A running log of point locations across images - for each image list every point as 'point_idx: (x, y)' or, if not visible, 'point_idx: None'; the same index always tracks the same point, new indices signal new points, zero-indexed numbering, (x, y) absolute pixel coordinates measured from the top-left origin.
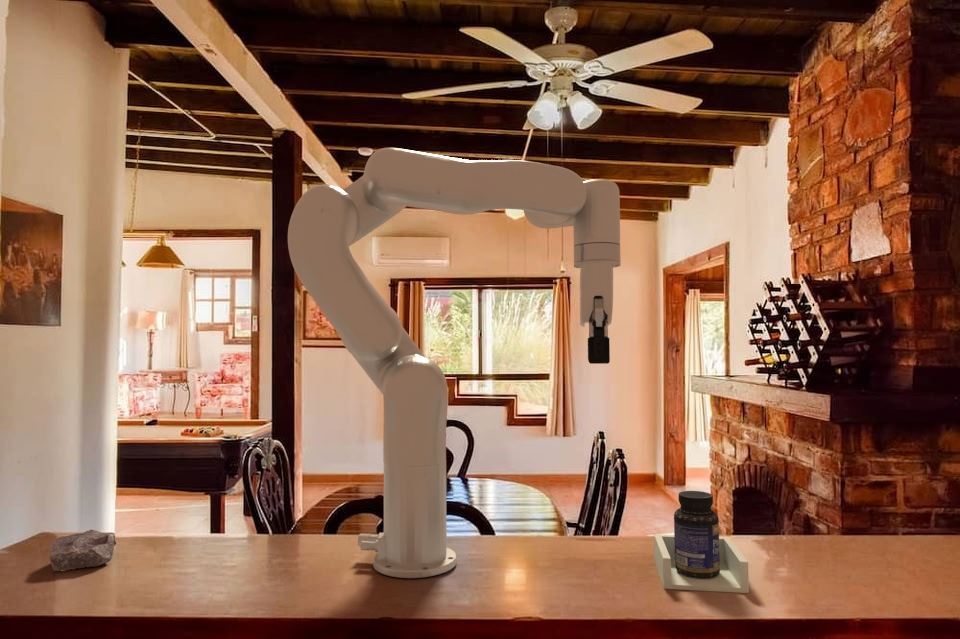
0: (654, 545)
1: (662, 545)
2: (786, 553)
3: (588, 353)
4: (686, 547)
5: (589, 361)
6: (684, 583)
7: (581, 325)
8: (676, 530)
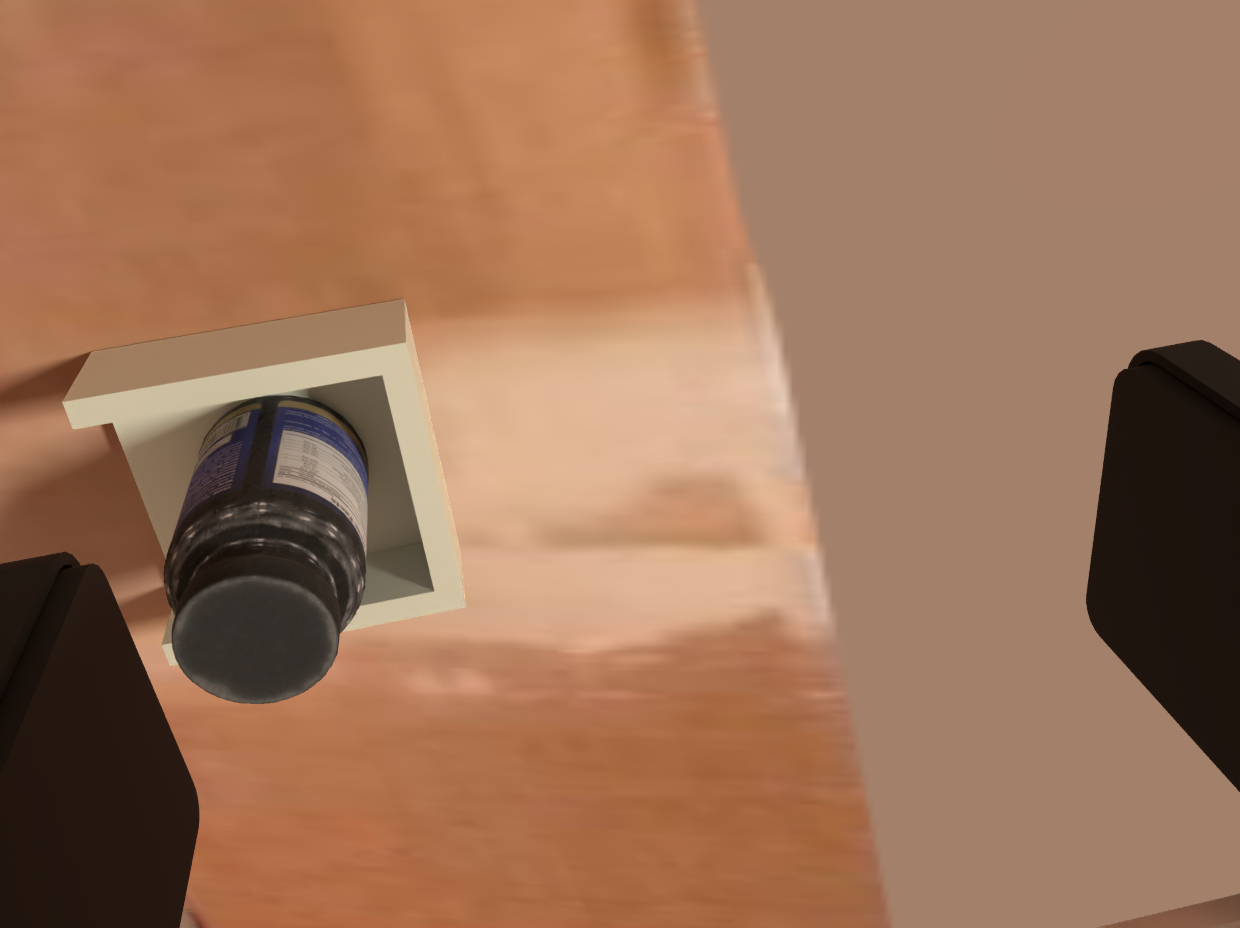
0: (397, 325)
1: (245, 387)
2: (643, 697)
3: (1235, 413)
4: (188, 488)
5: (3, 580)
6: (132, 427)
7: (1168, 922)
8: (216, 480)
